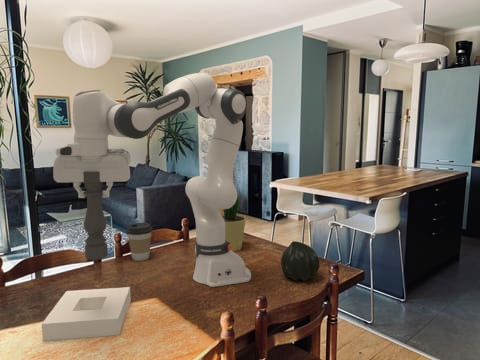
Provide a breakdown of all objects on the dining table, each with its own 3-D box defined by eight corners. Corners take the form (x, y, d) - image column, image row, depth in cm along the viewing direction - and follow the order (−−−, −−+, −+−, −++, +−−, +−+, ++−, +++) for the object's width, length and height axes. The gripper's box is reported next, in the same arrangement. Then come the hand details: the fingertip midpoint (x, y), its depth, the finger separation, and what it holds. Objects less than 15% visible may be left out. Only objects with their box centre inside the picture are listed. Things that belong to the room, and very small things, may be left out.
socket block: (130, 301, 120) (130, 287, 119) (119, 335, 100) (118, 318, 99) (67, 305, 117) (66, 290, 116) (43, 341, 97) (41, 323, 97)
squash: (333, 265, 137) (311, 231, 142) (310, 278, 126) (287, 241, 131) (309, 280, 146) (289, 248, 151) (286, 293, 135) (266, 258, 140)
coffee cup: (130, 254, 165) (129, 222, 163) (155, 253, 166) (154, 221, 164) (124, 263, 154) (123, 229, 151) (151, 262, 155) (150, 228, 152)
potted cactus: (250, 244, 178) (250, 185, 173) (239, 254, 163) (239, 190, 159) (221, 241, 183) (221, 183, 179) (208, 250, 169) (207, 188, 164)
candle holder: (100, 260, 101) (96, 172, 98) (80, 258, 102) (76, 171, 99) (111, 253, 107) (108, 170, 104) (93, 252, 108) (89, 169, 105)
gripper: (131, 148, 105) (133, 194, 107) (57, 148, 102) (60, 196, 104) (128, 149, 99) (129, 198, 101) (49, 149, 96) (52, 200, 98)
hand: (94, 197), depth 103 cm, fingers closed on candle holder, 5 cm apart
